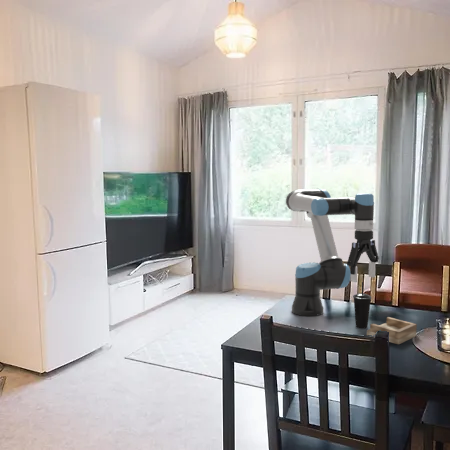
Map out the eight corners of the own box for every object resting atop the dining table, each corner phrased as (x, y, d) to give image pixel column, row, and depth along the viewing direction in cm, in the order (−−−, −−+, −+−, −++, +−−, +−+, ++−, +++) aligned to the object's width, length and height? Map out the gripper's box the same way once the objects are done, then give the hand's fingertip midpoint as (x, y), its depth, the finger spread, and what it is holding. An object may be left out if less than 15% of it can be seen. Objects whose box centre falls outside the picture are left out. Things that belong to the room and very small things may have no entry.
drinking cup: (371, 330, 192) (372, 284, 190) (353, 329, 193) (354, 283, 191) (369, 324, 199) (370, 280, 197) (351, 323, 201) (352, 279, 199)
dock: (366, 335, 187) (367, 323, 186) (385, 327, 196) (385, 316, 195) (398, 344, 176) (398, 332, 175) (416, 336, 185) (416, 324, 184)
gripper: (354, 233, 181) (353, 285, 183) (387, 228, 197) (386, 276, 199) (338, 231, 186) (338, 282, 189) (372, 227, 202) (371, 273, 205)
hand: (363, 279), depth 194 cm, fingers open, 13 cm apart
